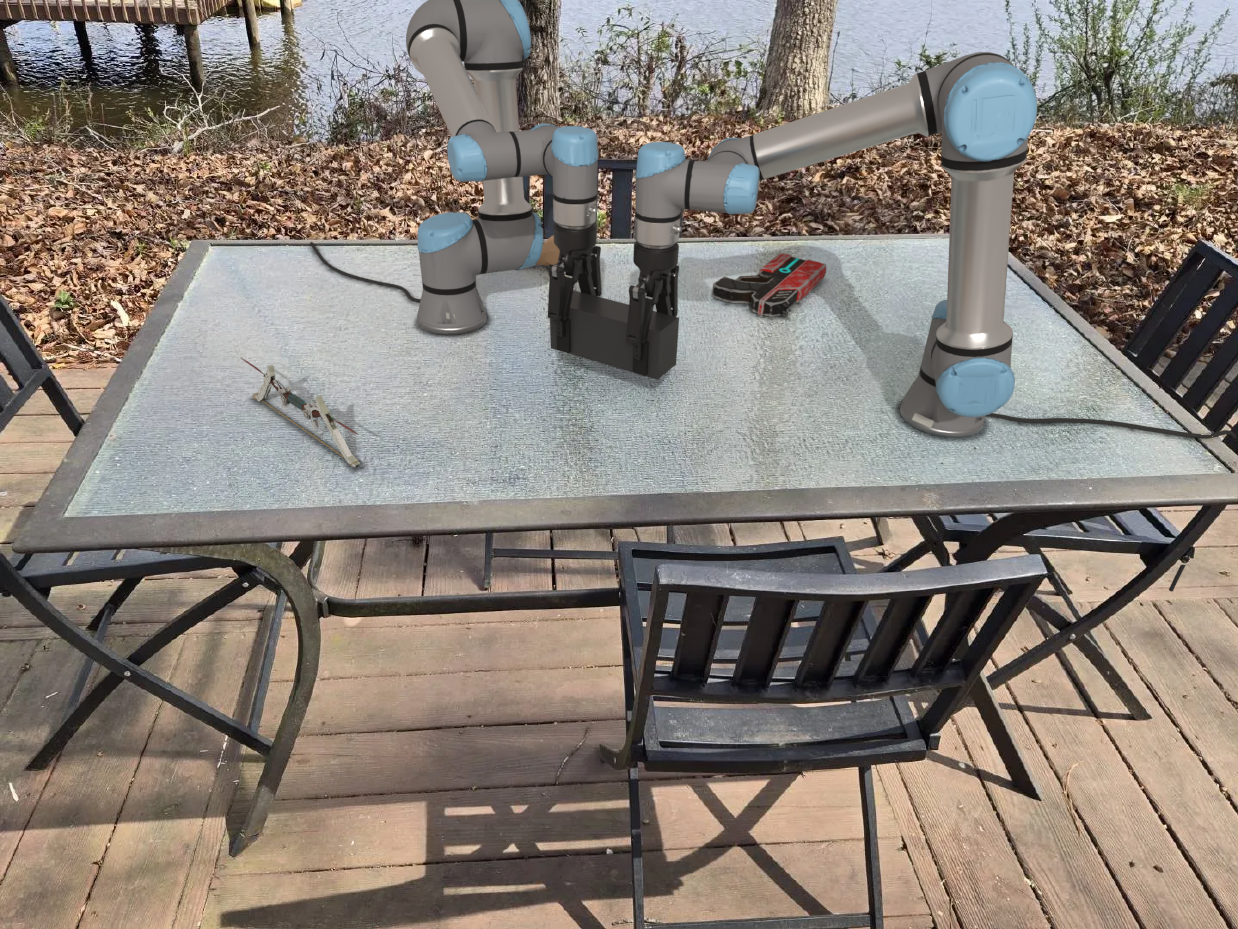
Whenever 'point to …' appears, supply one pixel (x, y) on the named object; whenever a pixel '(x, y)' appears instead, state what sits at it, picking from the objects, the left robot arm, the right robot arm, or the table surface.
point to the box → (617, 335)
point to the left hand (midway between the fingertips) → (575, 342)
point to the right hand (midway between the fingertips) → (650, 365)
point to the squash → (549, 253)
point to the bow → (305, 411)
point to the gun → (772, 285)
